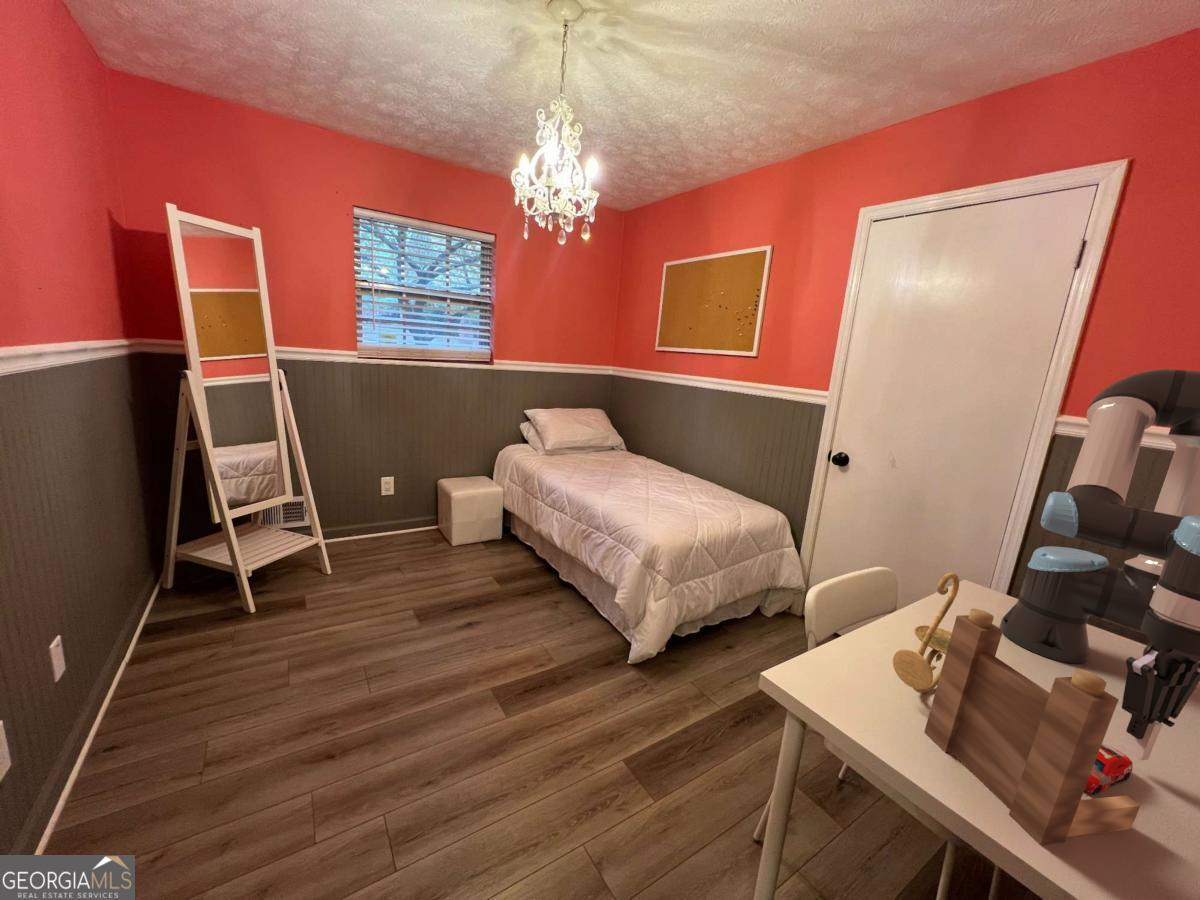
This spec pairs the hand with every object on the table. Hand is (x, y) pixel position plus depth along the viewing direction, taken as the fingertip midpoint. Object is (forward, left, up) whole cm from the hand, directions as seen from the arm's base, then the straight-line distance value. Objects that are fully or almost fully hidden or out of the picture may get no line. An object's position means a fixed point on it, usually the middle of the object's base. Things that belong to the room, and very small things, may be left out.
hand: (1133, 752), depth 72 cm
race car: (+8, 0, -4) cm, 8 cm away
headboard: (+21, 0, -3) cm, 22 cm away
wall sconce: (+20, -18, -3) cm, 27 cm away
